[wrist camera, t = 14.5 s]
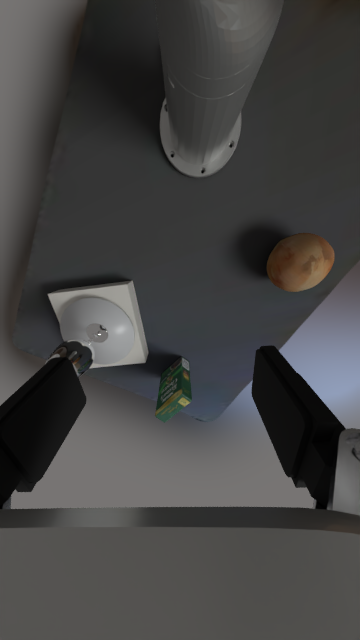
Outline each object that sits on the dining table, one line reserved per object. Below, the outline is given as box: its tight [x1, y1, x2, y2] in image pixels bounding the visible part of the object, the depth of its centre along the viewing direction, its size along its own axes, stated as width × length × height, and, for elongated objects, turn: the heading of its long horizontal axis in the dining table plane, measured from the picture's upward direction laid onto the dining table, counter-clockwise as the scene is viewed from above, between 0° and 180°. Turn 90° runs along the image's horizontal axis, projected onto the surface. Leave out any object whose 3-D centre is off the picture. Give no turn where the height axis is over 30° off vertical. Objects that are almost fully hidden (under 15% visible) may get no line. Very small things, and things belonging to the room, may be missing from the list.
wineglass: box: [45, 323, 108, 378], centre depth 32 cm, size 6×6×12 cm
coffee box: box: [155, 356, 192, 422], centre depth 41 cm, size 8×3×13 cm, turn 136°
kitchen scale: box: [48, 281, 148, 368], centre depth 40 cm, size 18×17×5 cm
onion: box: [267, 233, 334, 292], centre depth 32 cm, size 10×10×10 cm
